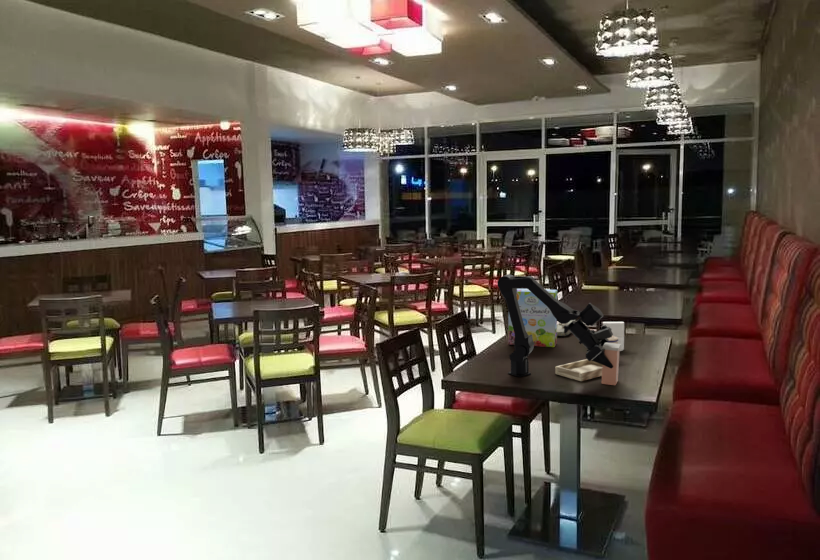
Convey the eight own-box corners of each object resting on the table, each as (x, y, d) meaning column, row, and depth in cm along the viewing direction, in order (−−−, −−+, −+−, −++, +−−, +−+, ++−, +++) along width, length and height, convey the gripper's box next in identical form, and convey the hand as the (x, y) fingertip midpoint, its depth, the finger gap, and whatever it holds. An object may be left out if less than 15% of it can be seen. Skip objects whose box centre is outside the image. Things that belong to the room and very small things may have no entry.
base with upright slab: (621, 346, 302) (621, 320, 300) (625, 351, 293) (626, 324, 291) (601, 346, 303) (601, 320, 301) (604, 351, 294) (605, 324, 292)
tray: (581, 381, 250) (581, 373, 250) (555, 373, 261) (555, 366, 260) (616, 372, 261) (616, 364, 261) (590, 365, 272) (590, 358, 271)
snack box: (507, 345, 310) (507, 290, 306) (510, 341, 318) (510, 287, 314) (555, 347, 303) (555, 291, 299) (557, 343, 311) (557, 288, 308)
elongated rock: (579, 326, 354) (560, 326, 357) (579, 316, 353) (560, 316, 357) (570, 337, 321) (549, 337, 325) (570, 326, 321) (549, 326, 325)
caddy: (600, 383, 246) (602, 346, 244) (603, 378, 252) (605, 342, 250) (616, 385, 243) (618, 348, 241) (618, 380, 250) (620, 344, 248)
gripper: (595, 324, 238) (627, 357, 235) (603, 315, 255) (633, 345, 252) (572, 344, 242) (603, 377, 239) (582, 334, 259) (611, 364, 256)
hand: (613, 365), depth 246 cm, fingers closed on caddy, 6 cm apart
